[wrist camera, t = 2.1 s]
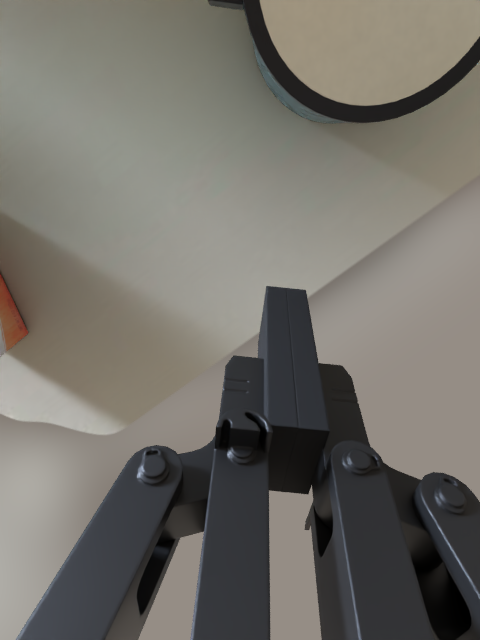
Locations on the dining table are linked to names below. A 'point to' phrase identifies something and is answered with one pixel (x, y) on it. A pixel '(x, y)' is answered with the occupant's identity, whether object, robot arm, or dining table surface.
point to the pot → (361, 53)
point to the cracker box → (9, 321)
